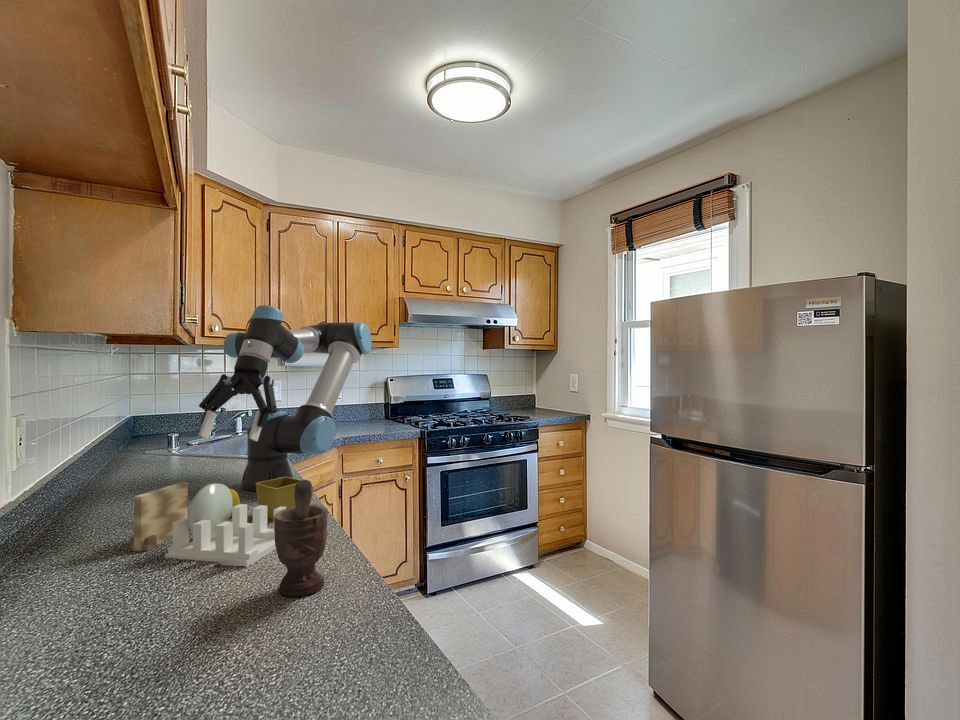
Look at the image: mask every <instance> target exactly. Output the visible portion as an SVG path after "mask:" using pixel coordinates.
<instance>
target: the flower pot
mask: <svg viewBox="0 0 960 720" xmlns="http://www.w3.org/2000/svg"><path fill="white" fill-rule="evenodd" d="M301 480H302V479H299V478H295V477H293V478H290V477H281V478H277V479H272V480H268V481H263V482H258V483H256V491H255V492H256V498H257V504H258V506H259V505H265V506H267V519H271V520H274V509H276V508H278V507H280V506H281V507H286V508H289V507H294V506H296V505H295V500H294V490H295V486H296V484H297V483H298V482H299V481H301Z"/></svg>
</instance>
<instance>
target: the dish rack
mask: <svg viewBox="0 0 960 720" xmlns="http://www.w3.org/2000/svg"><path fill="white" fill-rule="evenodd" d="M284 509H286V507H281V506H280V507H278V508H276V509H274V516H275V515H276V513H278V512H279V511H281V510H284ZM272 526H273V528H269V527H268V518H267V506H265V505H258V506H255V507H254V508H252V522H251V523H250V522H248V504H244V503H240V504H239V505H236V506H234V507H232V517H231V521H228V522H227V521H225V522H222V523H220V524H218V525H216V536H215V537H213V538H211V520H201V521H199V522H197V523H194V524H193V534H192V540H191V541H190V538H189V537H190V533H189V524H188V519H184V518H183V519H180V520H178V521H175V522H173V538H172V545H171V546H169V547H168V549H167V550H168V551H167V552H166V553H164V558H167V559H179V560H191V561H204V562H215V563H216V564H221V565H220V566H225V565H233V566H232V567H236V566H245V567H244V568H249V567H250V566H251V565H250V564H252V565H253V564H255V563H256V562H258V561H260V560H261V559H263V558H264V557H266V556H268V555H269V554H271V553H272V552H274V551H275V550H276V547H275V529H274V524H273V525H272ZM273 550H274V551H273ZM270 552H271V553H270ZM262 557H263V558H262ZM259 559H260V560H259ZM254 562H255V563H254ZM249 565H250V566H249Z"/></svg>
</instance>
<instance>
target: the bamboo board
mask: <svg viewBox="0 0 960 720" xmlns="http://www.w3.org/2000/svg"><path fill="white" fill-rule="evenodd" d="M188 483H189V482H187V481H185V482H184V481H181V482H178V483H174V484H171V485H168V486H164V487H161V488H158V489H155V490H154V489H153V490H151V491H148V492H146V493H142V494H137V495H134V498H133V504H134V505H133V506H134V507H133V520H134V521H133V536H134V550H133V551H134V552H144V551H143V550H144V544H145V538H147V537H149V536H151V535H157V545H159V544H161V543H163V542H166V541H168V540H171V539H173V522H175V521H178V520H180V519H183V518H184V519H188V513H189V509H188V508H189V507H188V506H189V505H188V503H189V499H188V497H189V496H188V495H189V489H188V488H189V484H188Z"/></svg>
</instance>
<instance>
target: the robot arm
mask: <svg viewBox="0 0 960 720" xmlns="http://www.w3.org/2000/svg"><path fill="white" fill-rule="evenodd" d="M249 319H250V320H249V324H248V327H247V329H246V332H240V331H237V332H231V333H229V334H227V335H226V336H225V337H224V341H223V350H224V352H225V355H227V356H228V357H230V358H236V361H235V364H234V369H233V370H234V371H233V372H234V373H233V375H232V376H227V374H224V373H223V374H221V376H220V377H219V380H218V381H217V383H216V384H215V385H214V387H213V388H212V389H211V390H210V391H209V393H208V394H206V396H205V397H204V398H203V399H202V401H201V402H200V403H199V405H198V407H199V408H200V409H202V410H204V413H203V416H202V419H201V420H200V421H201V427H200V430H199V433H198V436H199V437H200V438H201V437H202V438H204V439H207V440H209V438H210V436H211V432H212V429H213V427H214V423H215V421H216V418H217V411H218V410H219V409H220V408H221V407H222V406H224V405H225V404H226V403H227V402H228V401H230V399H232V398H233V397H234V396H237V395H245V394H246V395H251V396H252V398H253V400H254V401H255V404H256V406H257V408H258V412H257V411H256V412H255V414H253V415H251V416H250V417H249V418H248V422H247V428H246V430H247V435H246V436H247V462H246V467H245V469H244V471H243V475H242V478H241V480H240V482H241V484H240V486H241V487H240V488H241V489H242V490H244V491H248V492H249V491H250V492H256V483H258V482H263V481H268V480H272V479H277V478H281V477H290V478H294V474H293V472H292V469H291V465H290V463H289V460H288V457H289V456H288V454H293V455H294V454H295V455H306V456H312V455H321V454H324V453H325V452H327V451H328V450H329V449H330V448H331V446H332V445H333V443H334V441H335V439H336V438H335V437H336V432H337V427H336V423H335V421H334V416H333V414H332V412H333V411H334V408H335V407H336V403H337V402H338V399H339V397H340V395H341V391H342V390H343V387H344V385H345V383H346V380H347V378H348V375H349V373H350V371H351V368H352V366H353V365H354V364H356V363H358V362H359V360H360V358H361V356H362V355H367V354H369V353H370V352H371V350H372V335H371V331H370V328H369V326H368V325H367V324H366V323H364V322H359V321H358V322H357V321H354V322H325V323H318V324H312V325H305V326H301V327H300V328H299V329H287V328H286V327H285V326H284V325H283V324H282V323H283V319H284V314H283V312H282V311H281V310H280V309H279V308H277V307H275V306H272V305H267V304H260V305H258V306H256V307H255V308H254V311H253V313H252V315H251V316H250V318H249ZM304 353H306V354H307V353H308V354H309V353H318V354H319V353H320V354H328V357H327V359H326V362H325V363H324V365H323V367H322V369H321V372H320V374H319V376H318V378H317V379H316V382H315V384H314V386H313V388H312V390H311V392H310V395H309V397H308V399H307V401H306V403H305V404H302V405H300V406H299V407H298V409H297V410H296V412H295V415H289V413H288V411H287V410H283V411H278V407H277V403H276V402H277V401H276V397H275V391H274V382H275V379H273V378H272V377H271V376H269V375H267V374H266V373H267V369H268V368H269V363H270V362H271V361H270V360H271V359H272V358H273V359H276V358H277V359H280V360H281V361H283V362H284V363H286V364H295V363H296V362H299V361H300V359H302V357H303V356H304ZM262 385H263V391H264V397H265V399H264V398H263V395H262V392H261V390H260V388H259V387H261V386H262Z"/></svg>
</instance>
